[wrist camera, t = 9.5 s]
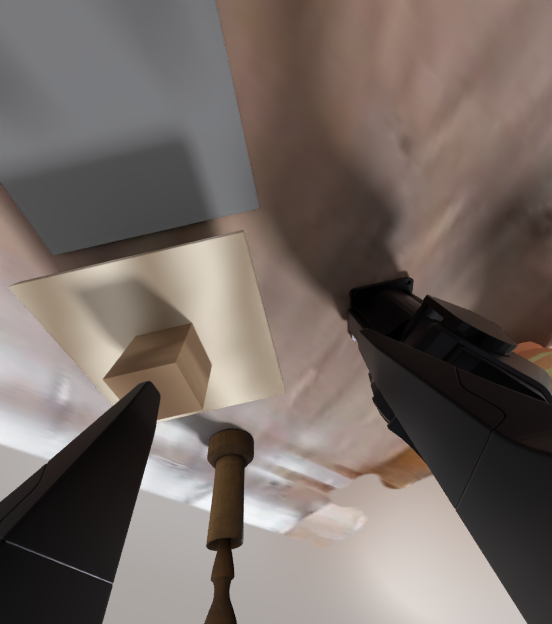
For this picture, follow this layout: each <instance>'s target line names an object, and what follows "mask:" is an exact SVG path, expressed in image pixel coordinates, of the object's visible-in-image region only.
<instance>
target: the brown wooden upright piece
mask: <svg viewBox="0 0 552 624" xmlns="http://www.w3.org/2000/svg"><path fill="white" fill-rule="evenodd" d="M253 457H254V440H253V438H252V436H251V435H250V434H248V433H247V432H244V431H239V430H225V431H221V432H219V433H217V434H215V435H214V436H213V437H212V438H211V439H210V442H209V448H208V455H207V459H208V461H209V463H210V464H211V465H212V466H213V467H214V468H215V479H214V488H213V496H212V505H211V513H210V521H209V529H208V536H207V545H206V547H207V548H208V549H209V550H213V551H217V554H216V558H215V562H214V565H213V570H212V575H211V581H212V582H213V583H214V599H213V602H212V605H211V608H210V610H209V612H208V615H207V618H206V620H205V623H204V624H237V623H236V617H235V614H234V610H233V607H232V604H231V601H230V597H229V589H230V583H231V580H232V579H233V578H234V564H233V557H232V551H231V549H235V548H238V547H240V546H241V545H242V544H243V516H244V469H245V467H246V466H247V465H248V464H249V463H250V462H251V461H252V460H253Z"/></svg>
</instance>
